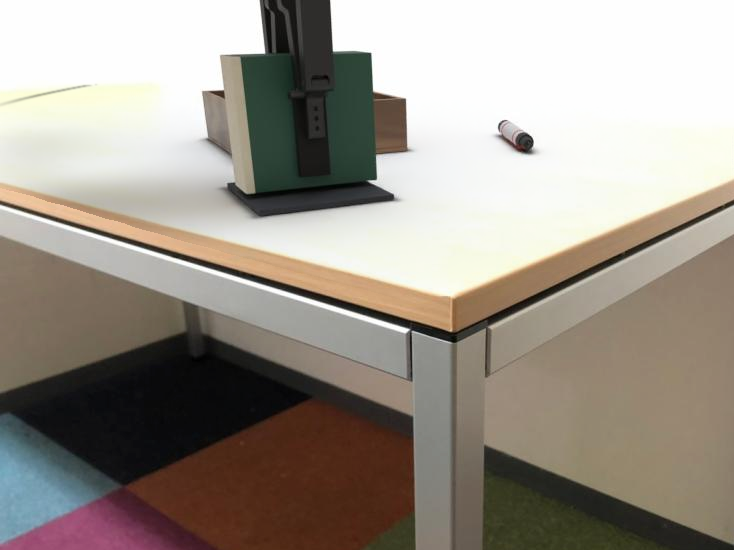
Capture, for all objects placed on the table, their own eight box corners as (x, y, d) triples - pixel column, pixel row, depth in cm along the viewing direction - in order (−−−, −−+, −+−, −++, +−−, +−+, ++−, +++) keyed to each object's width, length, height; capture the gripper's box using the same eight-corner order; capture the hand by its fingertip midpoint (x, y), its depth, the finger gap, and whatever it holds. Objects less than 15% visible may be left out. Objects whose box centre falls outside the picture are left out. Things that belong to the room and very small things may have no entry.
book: (235, 185, 67) (219, 54, 63) (361, 172, 72) (354, 50, 68) (246, 194, 64) (230, 57, 59) (377, 180, 69) (371, 52, 64)
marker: (497, 135, 100) (497, 119, 99) (511, 134, 100) (512, 119, 99) (522, 155, 86) (522, 137, 85) (538, 154, 86) (539, 137, 85)
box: (207, 138, 98) (201, 90, 96) (345, 128, 106) (343, 84, 104) (247, 165, 81) (240, 108, 78) (407, 150, 89) (406, 98, 87)
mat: (227, 188, 71) (226, 182, 70) (346, 175, 76) (346, 170, 75) (259, 216, 61) (259, 210, 61) (394, 199, 66) (394, 194, 66)
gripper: (367, -146, 53) (381, 183, 62) (296, -113, 67) (316, 152, 76) (262, -156, 50) (293, 193, 59) (210, -119, 63) (242, 159, 73)
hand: (306, 170), depth 67 cm, fingers closed on book, 4 cm apart
